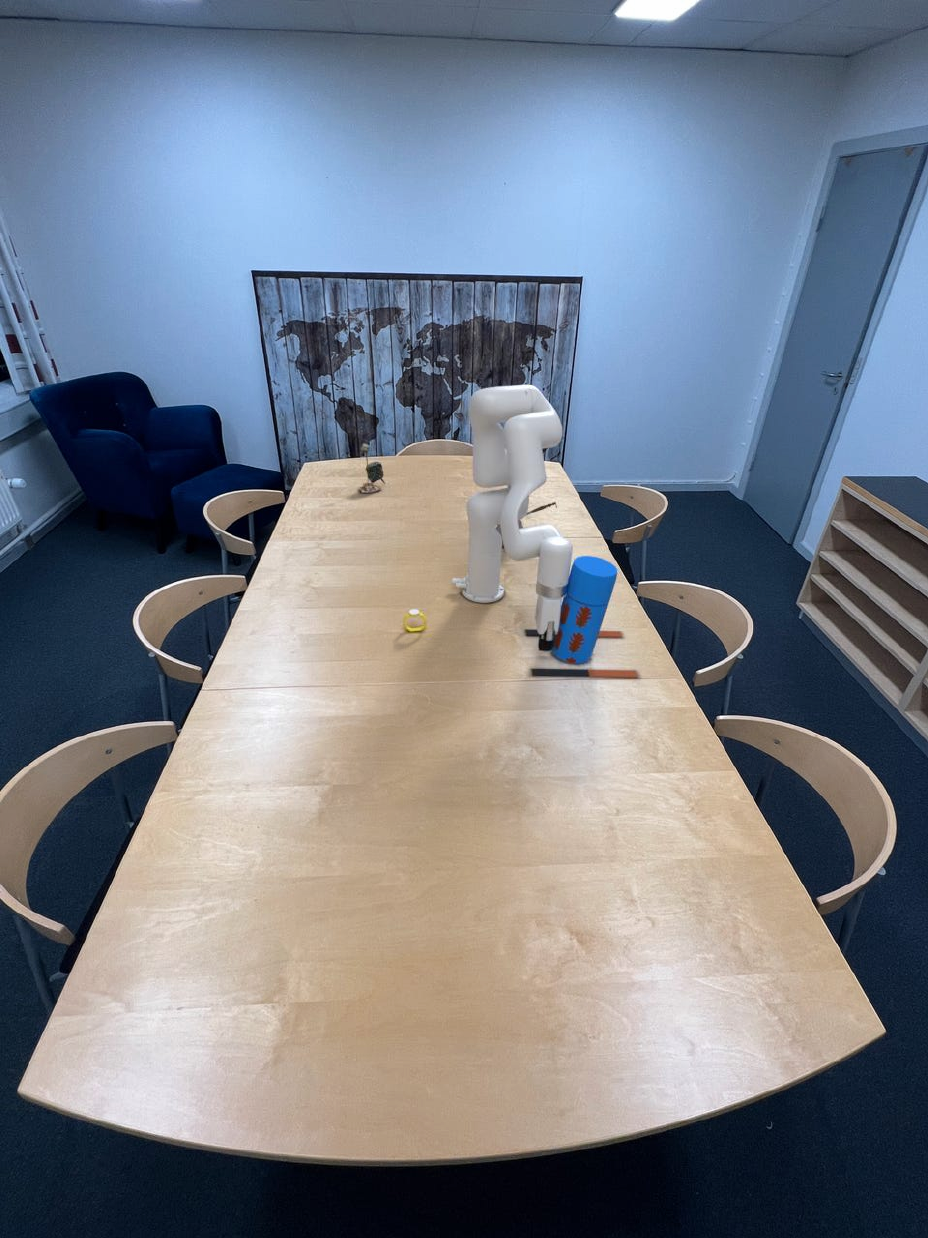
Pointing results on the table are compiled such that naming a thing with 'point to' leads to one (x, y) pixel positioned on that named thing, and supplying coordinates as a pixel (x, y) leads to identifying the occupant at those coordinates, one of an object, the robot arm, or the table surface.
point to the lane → (584, 672)
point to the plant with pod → (371, 473)
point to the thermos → (583, 608)
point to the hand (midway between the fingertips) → (544, 648)
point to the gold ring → (414, 613)
